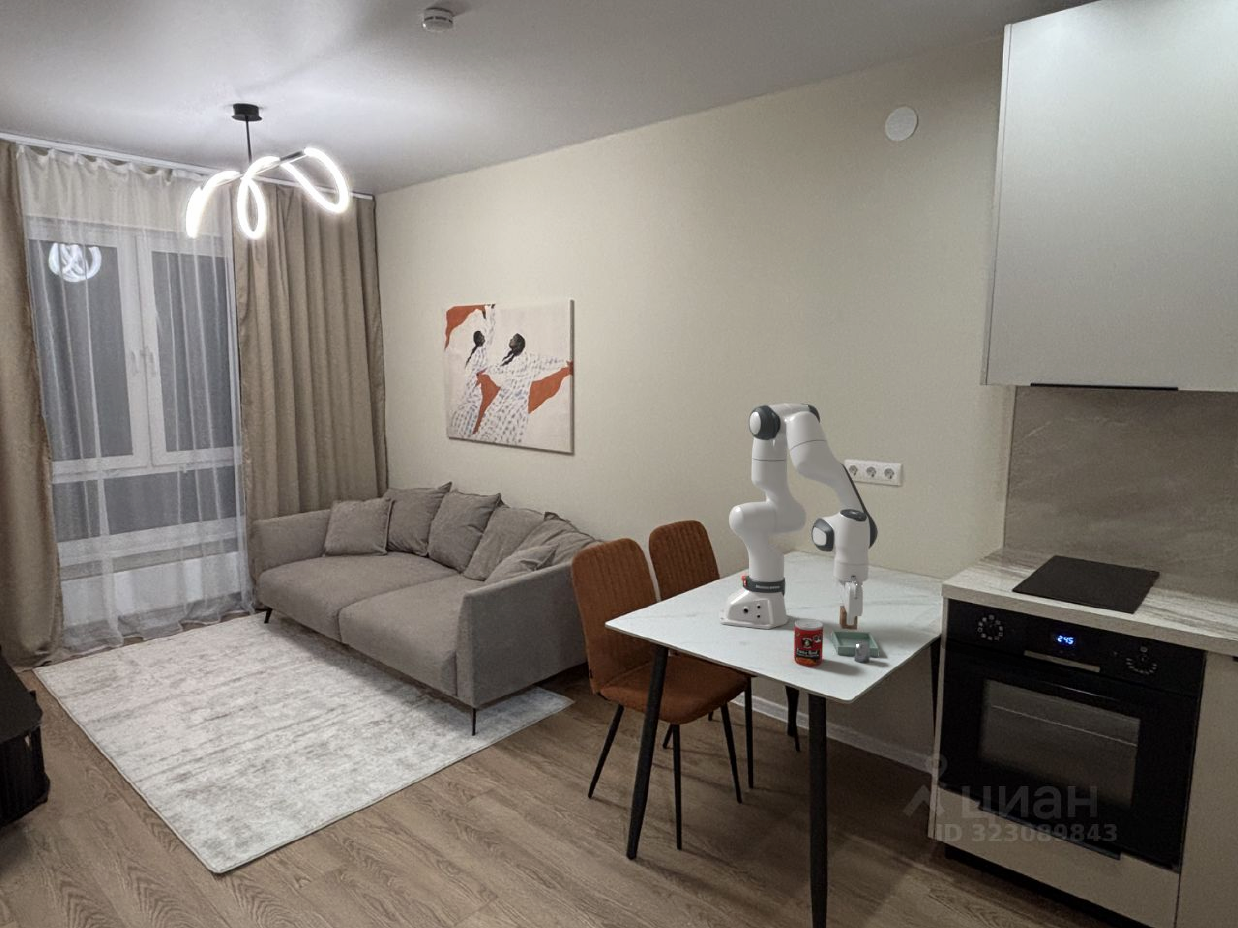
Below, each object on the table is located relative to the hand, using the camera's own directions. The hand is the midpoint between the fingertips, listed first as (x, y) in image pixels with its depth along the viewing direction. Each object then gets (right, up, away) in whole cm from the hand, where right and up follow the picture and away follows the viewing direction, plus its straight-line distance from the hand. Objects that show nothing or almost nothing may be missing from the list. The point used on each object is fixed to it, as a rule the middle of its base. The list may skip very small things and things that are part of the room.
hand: (848, 620), depth 203 cm
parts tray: (+7, -12, +18) cm, 22 cm away
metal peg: (+6, -13, +8) cm, 16 cm away
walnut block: (0, -2, 0) cm, 2 cm away
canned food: (-9, -13, +8) cm, 18 cm away
